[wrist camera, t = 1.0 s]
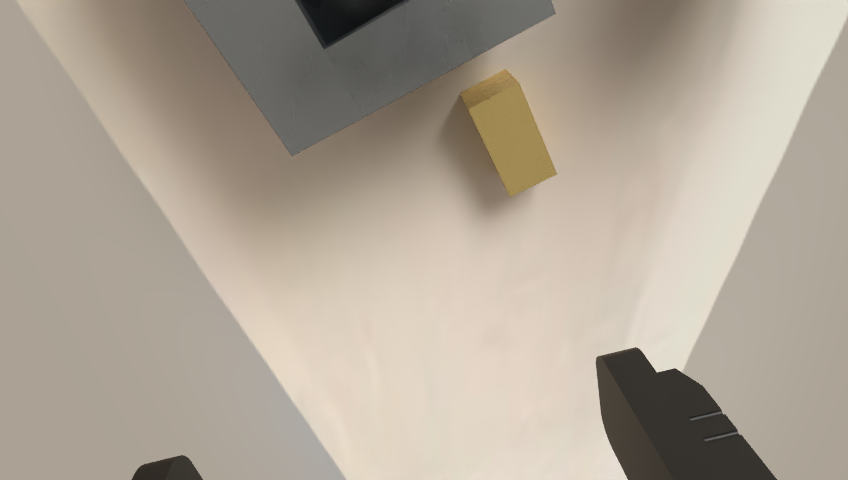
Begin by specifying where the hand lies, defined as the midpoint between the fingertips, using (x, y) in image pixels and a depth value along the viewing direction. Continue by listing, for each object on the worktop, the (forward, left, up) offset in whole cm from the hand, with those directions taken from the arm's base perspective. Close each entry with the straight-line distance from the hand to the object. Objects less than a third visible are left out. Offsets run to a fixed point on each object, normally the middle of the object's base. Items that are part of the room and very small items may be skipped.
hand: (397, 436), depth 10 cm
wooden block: (-6, +5, -25) cm, 26 cm away
